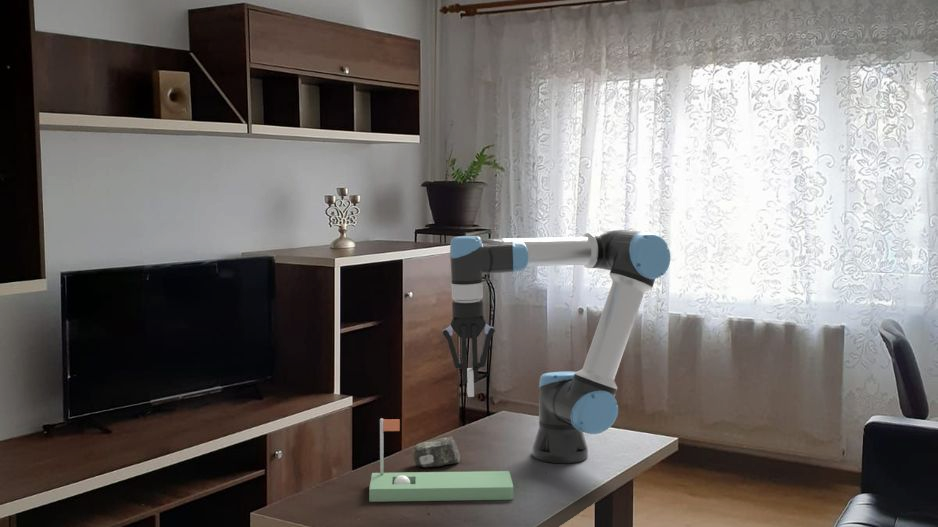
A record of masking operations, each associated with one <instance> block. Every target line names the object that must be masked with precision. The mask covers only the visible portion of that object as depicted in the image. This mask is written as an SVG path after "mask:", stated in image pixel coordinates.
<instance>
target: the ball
mask: <svg viewBox="0 0 938 527" xmlns="http://www.w3.org/2000/svg"><path fill="white" fill-rule="evenodd" d="M394 484H410V480H409V478H408V477H406V476H404V475H400V476H398V477H397V478H396V479H395V481H394Z"/></svg>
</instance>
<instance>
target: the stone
mask: <svg viewBox="0 0 938 527" xmlns="http://www.w3.org/2000/svg"><path fill="white" fill-rule="evenodd" d="M412 457H413V461H414V465H417V466H419V467H422V468H432V467H435V468H436V467H441V466H446V465H452V464H453V465H454V464H459V463H460V460H461V454H460V452H459V448H458V446H457V442H456V440H455V439H454V438H453V436H447V437H439V438H435V439H431V440H430V441H424V442H420V443H417V444H415V447H414V448H413V449H412Z"/></svg>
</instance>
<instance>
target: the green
mask: <svg viewBox="0 0 938 527" xmlns="http://www.w3.org/2000/svg"><path fill="white" fill-rule="evenodd" d="M400 422H401V421H400V419H398V418H397V419H393V418H392V419H384V418H380V419H379V459H380V460H379V464H380V465H379V469H380V470H379V472H372V473H371V479H370V483H369V489H368V490H369V492H368V495H369V496H368V499H369V503H370V502H371V503H372V502H373V503H375V502H379V503H380V502H381V503H382V502H429V501H431V502H432V501H433V502H434V501H435V502H439V501H441V502H442V501H447V502H449V501H500V500H501V501H502V500H503V501H504V500H506V501H508V500H509V501H510V500H514V498H515V496H514V493H515V492H514V491H515V490H514V483H513V479H512V477H511V472H510V470H494V471H490V470H489V471H488V470H487V471H485V470H483V471H482V470H481V471H479V470H478V471H428V472H427V471H420V472H418V471H416V472H415V471H414V472H413V471H410V472H406V471H405V472H385V471H384V469H385V468H384V467H385V466H384V432H400V429H401V428H400V427H401V426H400V425H401V423H400ZM400 475H404V476H406V477H408V478H409V480H410V484H394V481H395V479H396V478H397V477H398V476H400Z"/></svg>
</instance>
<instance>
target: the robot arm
mask: <svg viewBox="0 0 938 527" xmlns="http://www.w3.org/2000/svg"><path fill="white" fill-rule="evenodd" d="M449 245H450V248H449V252H450V253H449V258H450V274H451V278H450V279H451V299H452V300H453V301H452V303H451V304H452V305H451V308H452V309H451V311H452V312H451V314H452V318H451V322H450V325H449V326H448V327H446V328H442V334H443V336H444V337H445V339H446V340H447V343H448V347H449V350H450V355H451V357H452V358H451V359H452V361H453V364H454V367H455V369H459V370H461V379H462V383H463V384H466V389H467V390H466V391H467V392H466V393H467V397H468V398H474V397H475V383H478V382H479V369H480V368H484V367H485V366H486V362H487V359H488V358H487V357H488V353H489V348H490V344H491V339H492V337H493V335H494V333H496V332H495V331H496V329H495V327H494V326H490V325H489V324H487V321H486V320H485V316H484V301H483V300H482V299H483V298H484V292H483V291H484V290H483V288H484V287H483V286H484V285H483V275H490V274H503V273H513V274H514V273H516V272H522V271H524V270H526V268H527V267H547V266H548V267H549V266H550V267H552V266H553V267H554V266H556V267H557V266H584V268H586V269H598V270H599V269H600V270H604V271H605V270H606V271H610V272H609V276H610V280H611V281H612V283H611V286H610V289H609V292H608V295H607V297H606V301H605V303H604V306H603V309H602V312H601V316H600V317H599V320H598V322H597V323H598V324H597V326H596V329H595V332H594V335H593V338H592V341H591V344H590V347H589V349H588V352H587V355H586V358H585V361H584V363H583V367H582V368H581V369H580V370H578V371H554V372H553V371H552V372H551V371H550V372H546V373H543V374H541V375H540V377H539V383H538V391H539V392H538V397H539V398H538V399H539V400H538V429H537V432H536V435H535V437H534V440H533V444H532V451H531V452H532V457H534V458H535V459H536V460H538V461H542V462H545V463H552V464H572V463H573V464H574V463H579V462H582V461H585V460H587V458H588V457H589V454H588V453H589V447H588V444H587V442H586V438H585V434H584V433H586V434H589V435H599V434H601V433H603V432H606V431H607V430H608V429H610V428H611V427H612V426H613V425H614V423H615V422H616V420H617V417H618V414H619V405H618V404H617V403H618V402H617V399H616V398H615V397H616V394H617V391H618V386H617V384H616V382H615V378H616V375H617V372H618V369H619V367H620V364H621V361H622V358H623V355H624V352H625V350H626V346H627V344H628V341H629V338H630V335H631V332H632V329H633V326H634V324H635V321H636V318H637V315H638V312H639V309H640V306H641V303H642V300H643V298H644V295H645V293H647V292H648V291H650V290H652V289H653V287H654V284H655V281H656V279H658V278H661V277H662V276H663V275H664V276H665V274H666V273H667V271H668V269H669V268H670V264H671V250H670V248H669V246H668V243H667V242H666V241H665V239H664V238H663V237H661V236H660V235H658V234H656V233H653V232H649V231H644V230H643V231H641V230H640V231H637V230H628V229H617V230H614V229H613V230H610V231H609V230H608V231H603V232H602V231H601V232H586V233H584V234H583V235H582V236H559V237H556V236H555V237H553V236H552V237H550V236H549V237H548V236H547V237H508V238H507V237H506V238H505V237H504V238H483V237H480V236H478V235H463V236H462V235H461V236H460V235H459V236H455V237H452V239H451V240H450V244H449ZM483 330H484V332H483ZM453 331H454V332H455V334H456V335H457V336H458V338H460V349H461V352H460V353H461V356H460V357H461V362H460V360H459V358H458V354H457V351H456V348H455V344H454V340H453V338H452V336H453V335H454V334H453V333H454V332H453ZM482 332H483V333H484V334H485V335H484V339H483V343H482V344H483V345H482V349H481V352H480V353H481V354H480V357H478V337H479V336H480V334H481V333H482ZM467 339H470V341H471V342H470V343H471V366H472V367H469V368H468V354H467V353H468V352H467V351H468V350H467V348H468V347H467ZM478 360H479V361H478Z"/></svg>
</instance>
